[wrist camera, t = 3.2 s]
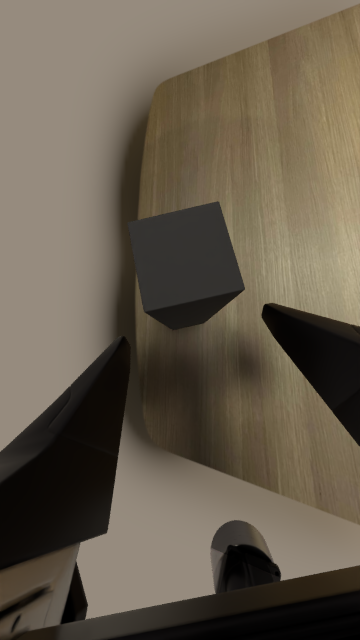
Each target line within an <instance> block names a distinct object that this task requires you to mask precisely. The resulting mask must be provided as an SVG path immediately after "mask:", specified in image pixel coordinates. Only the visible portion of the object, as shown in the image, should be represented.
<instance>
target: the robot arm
mask: <svg viewBox="0 0 360 640" xmlns="http://www.w3.org/2000/svg"><path fill="white" fill-rule="evenodd" d="M262 319H263V321H264V322H265V324H266V325H267V327H268V329H269V330H270V332H271V333H272V335H273V336H274V338H275V339H276V341H277V342H278V343H279V344H280V346H281V347H282V348H283V350H284V351H285V352H286V353H287V355H288V356H289V357H290V358H291V360H292V361H293V362H294V364H295V365H296V366H297V367H298V369H299V370H300V371H301V372H302V374H303V375H304V376H305V378H306V379H307V380H308V381H309V383H310V384H311V385H312V386H313V388H314V389H315V390H316V391H317V393H318V394H319V395H320V397H321V398H322V399H323V400H324V402H325V403H326V404H327V405H328V407H329V408H330V409H331V410H332V412H333V413H334V415H335V416H336V417H337V418H338V420H339V421H340V422H341V423H342V425H343V426H344V427H345V429H346V430H347V431H348V432H349V434H350V435H351V436H352V437H353V439H354V440H355V441H356V443H357V444H358V445H359V446H360V327H359V326H356V325H352V324H351V325H350V324H348V323H344V322H341V321H337V320H333V319H330V318H326V317H322V316H319V315H315V314H311V313H307V312H304V311H300V310H296V309H293V308H289V307H285V306H282V305H278V304H274V303H268V304H265V305H264V306H263V310H262ZM130 350H131V347H130V344H129V342H128V341H127V339H126V337H124V336H121V337H118V338H117V339H116V340H114V341H113V343H112V344H111V345H110V346H109V347H108V348H107V349H106V350H105V351H104V352H103V353H102V354H101V355H100V356H99V357H98V358H97V359H96V360H95V361H94V362H93V363H92V364H91V365H90V366H89V367H88V368H87V369H86V370H85V371H84V372H83V373H82V374H81V375H80V376H79V377H78V379H76V380H75V381H74V382H73V384H71V387H68V388H67V389H66V391H65V392H64V393H63V394H62V395H61V396H60V397H59V398H58V399H57V400H56V401H55V402H54V403H53V404H52V405H50V406H49V407H48V408H47V409H46V410H45V411H44V412H43V413H42V414H41V415H40V416H39V417H38V418H37V419H36V420H34V421H33V422H32V423H31V424H30V425H29V426H28V427H27V428H26V429H25V430H24V431H23V432H21V433H20V434H19V435H18V436H17V437H16V438H15V439H14V440H13V441H12V442H11V443H10V444H9V445H7V446H6V447H5V448H4V449H3V450H2V451H1V452H0V640H360V566H355V567H349V568H344V569H339V570H334V571H329V572H324V573H319V574H314V575H309V576H304V577H299V578H294V579H289V580H283V581H280V579H281V572H280V569H279V567H278V565H277V564H275V563H273V562H271V561H268V560H266V559H264V558H261V557H259V556H257V555H254V554H252V553H249V552H247V551H245V550H242V549H240V548H238V547H235V546H233V545H228V546H227V549H226V554H225V558H224V563H223V567H222V572H221V576H220V581H219V585H218V590H217V594H213V595H208V596H203V597H198V598H192V599H187V600H182V601H177V602H172V603H167V604H162V605H157V606H152V607H147V608H142V609H137V610H132V611H127V612H122V613H116V614H111V615H107V616H101V617H96V618H91V619H86V620H85V617H86V612H87V607H88V604H87V600H86V596H85V593H84V589H83V585H82V581H81V577H80V573H79V570H78V566H77V562H76V559H77V554H78V551H79V546H80V542H83V541H86V540H88V539H91V538H94V537H97V536H100V535H103V534H106V533H107V530H108V524H109V518H110V511H111V503H112V497H113V489H114V482H115V475H116V468H117V460H118V453H119V446H120V438H121V431H122V423H123V417H124V410H125V403H126V395H127V388H128V381H129V373H130V354H131V351H130Z"/></svg>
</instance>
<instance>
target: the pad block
mask: <svg viewBox="0 0 360 640" xmlns="http://www.w3.org/2000/svg"><path fill="white" fill-rule="evenodd" d="M128 229H129V233H130V239H131V245H132V250H133V255H134V261H135V266H136V272H137V277H138V282H139V288H140V293H141V299H142V304H143V309H144V312H145V313H147V314H148V315H150V316H151V317H153V318H155V319H156V320H158V321H159V322H161V323H163V324H164V325H166V326H167V327H169V328H170V329H172V330H175V329H180V328H184V327H189V326H193V325H197V324H202V323H205V322H206V321H207V320H208V319H210V318H211V317H212V316H213V315H214V314H216V313H217V312H218V311H219V310H221V309H222V308H223V307H224V306H225V305H227V304H228V303H229V302H230V301H231V300H233V299H234V298H235V297H236V296H238V295H239V294H240V293H241V292H242V291H244V290H245V287H244V283H243V280H242V277H241V273H240V270H239V267H238V263H237V260H236V257H235V253H234V250H233V247H232V243H231V240H230V237H229V233H228V230H227V227H226V223H225V220H224V217H223V214H222V210H221V207H220V204H219V202H213V203H209V204H205V205H201V206H196V207H192V208H188V209H183V210H179V211H175V212H171V213H166V214H162V215H158V216H154V217H149V218H145V219H141V220H136V221H132V222H129V223H128Z"/></svg>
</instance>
